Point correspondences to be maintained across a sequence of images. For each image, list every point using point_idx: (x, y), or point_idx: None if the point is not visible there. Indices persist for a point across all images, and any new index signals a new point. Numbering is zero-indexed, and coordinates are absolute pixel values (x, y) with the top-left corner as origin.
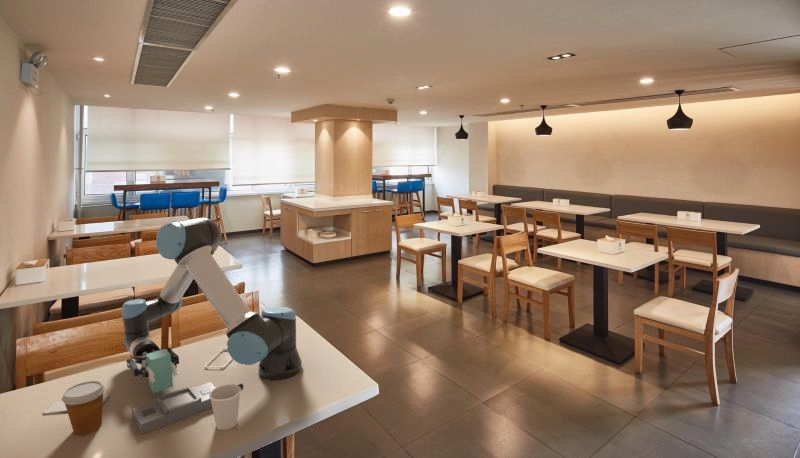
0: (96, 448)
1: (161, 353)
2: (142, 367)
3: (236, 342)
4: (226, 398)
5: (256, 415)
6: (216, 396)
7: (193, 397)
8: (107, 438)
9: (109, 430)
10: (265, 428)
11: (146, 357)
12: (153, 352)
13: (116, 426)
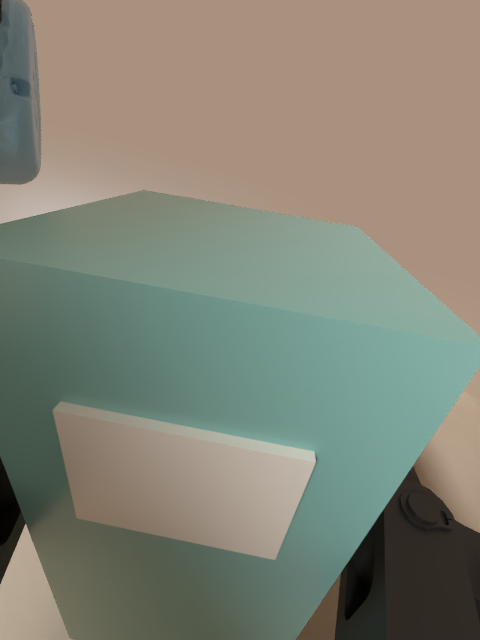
0: (464, 398)
1: (187, 219)
2: (431, 504)
3: (32, 57)
4: (199, 199)
5: None
6: None
7: None
8: (446, 416)
9: (457, 454)
10: None
11: (431, 418)
12: (274, 292)
13: (435, 459)
